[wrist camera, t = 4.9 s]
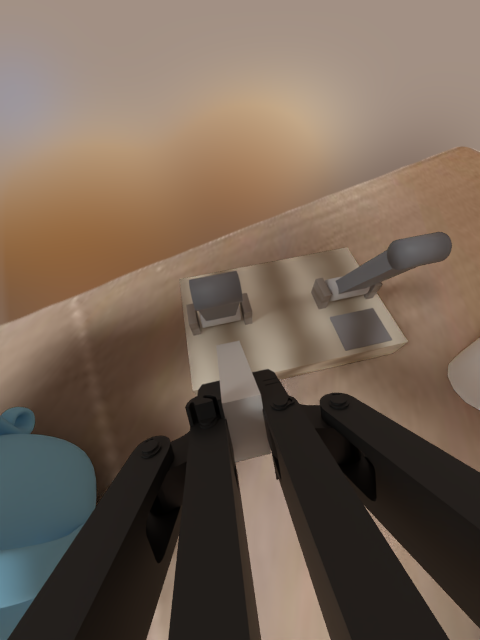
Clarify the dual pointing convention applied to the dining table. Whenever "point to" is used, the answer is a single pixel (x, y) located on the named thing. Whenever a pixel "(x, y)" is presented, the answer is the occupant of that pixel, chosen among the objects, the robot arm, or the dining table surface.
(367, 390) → the dining table surface
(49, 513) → the decorative pot
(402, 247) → the lever
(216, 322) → the lever
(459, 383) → the foam cup
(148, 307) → the dining table surface
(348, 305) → the switch base
